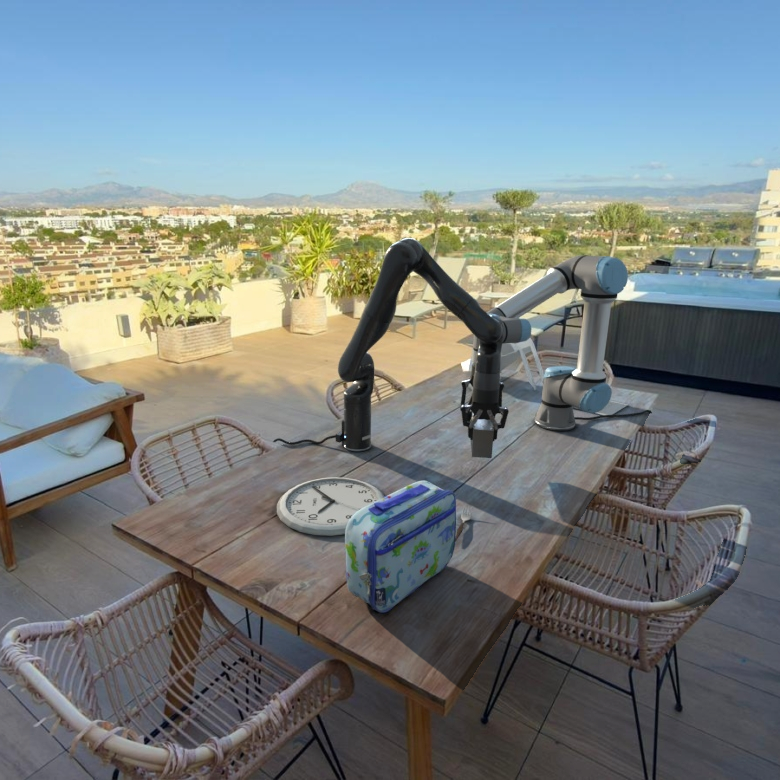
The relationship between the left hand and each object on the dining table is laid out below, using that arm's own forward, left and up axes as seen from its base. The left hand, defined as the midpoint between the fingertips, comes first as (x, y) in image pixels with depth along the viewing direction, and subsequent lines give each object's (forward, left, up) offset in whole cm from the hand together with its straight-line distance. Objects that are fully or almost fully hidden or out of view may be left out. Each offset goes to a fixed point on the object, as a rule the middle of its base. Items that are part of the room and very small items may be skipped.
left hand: (482, 439), depth 156 cm
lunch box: (+4, -55, -13) cm, 57 cm away
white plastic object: (-29, +102, -13) cm, 107 cm away
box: (-3, +7, -4) cm, 9 cm away
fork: (+6, -28, -13) cm, 32 cm away
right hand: (-6, +14, -4) cm, 16 cm away
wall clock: (-28, -37, -13) cm, 48 cm away
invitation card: (+20, +93, -13) cm, 96 cm away
